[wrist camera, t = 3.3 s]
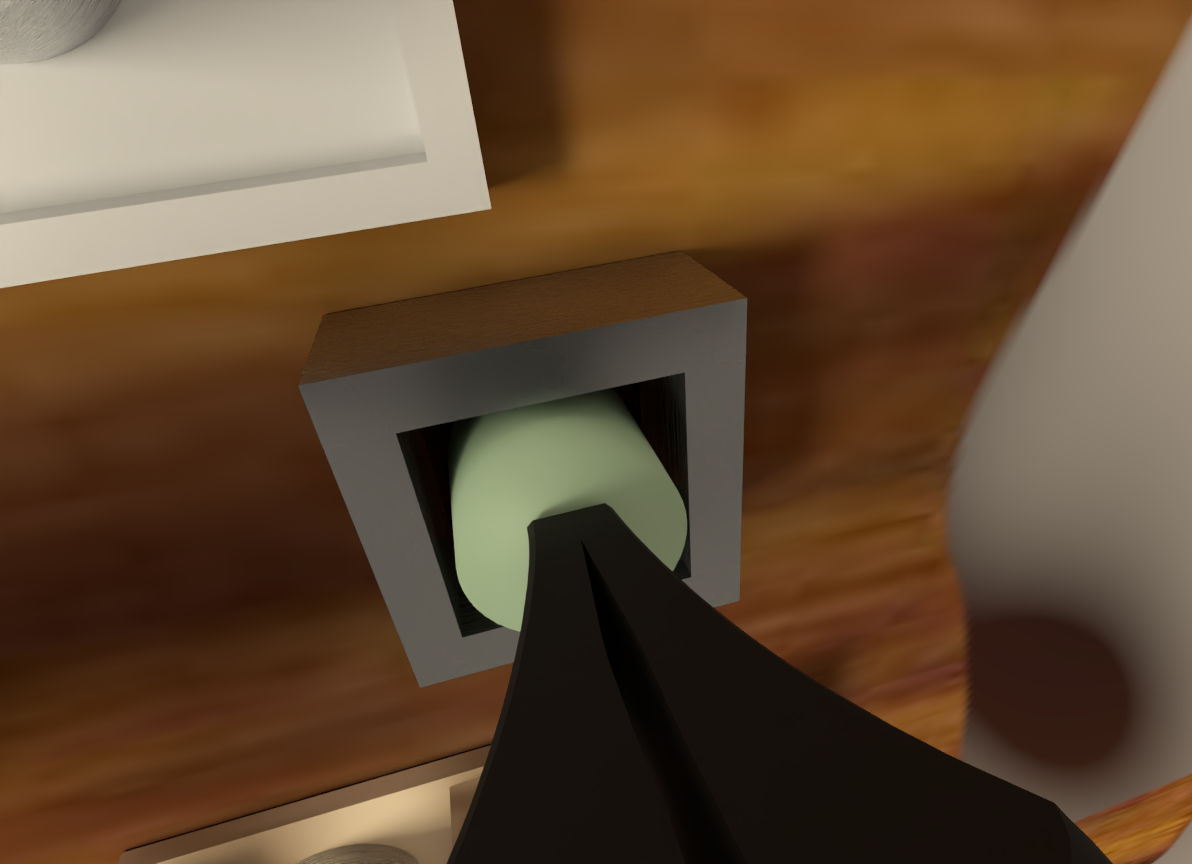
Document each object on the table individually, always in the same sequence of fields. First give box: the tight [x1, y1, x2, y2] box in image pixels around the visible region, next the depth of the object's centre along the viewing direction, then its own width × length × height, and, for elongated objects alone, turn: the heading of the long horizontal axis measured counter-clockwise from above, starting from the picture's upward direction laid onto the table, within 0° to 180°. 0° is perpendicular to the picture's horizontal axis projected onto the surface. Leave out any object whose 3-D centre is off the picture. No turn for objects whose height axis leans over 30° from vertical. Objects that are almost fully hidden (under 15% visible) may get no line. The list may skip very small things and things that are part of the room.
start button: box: [447, 388, 687, 632], centre depth 12 cm, size 4×4×3 cm
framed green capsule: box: [298, 251, 747, 688], centre depth 13 cm, size 7×7×3 cm
